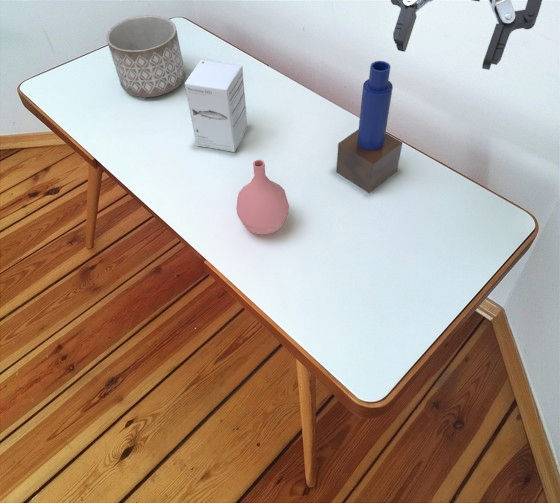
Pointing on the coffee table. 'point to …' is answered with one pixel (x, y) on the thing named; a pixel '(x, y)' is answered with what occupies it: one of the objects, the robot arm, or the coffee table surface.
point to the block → (368, 161)
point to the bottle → (375, 107)
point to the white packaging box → (217, 104)
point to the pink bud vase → (262, 203)
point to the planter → (146, 55)
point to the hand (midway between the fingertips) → (442, 57)
